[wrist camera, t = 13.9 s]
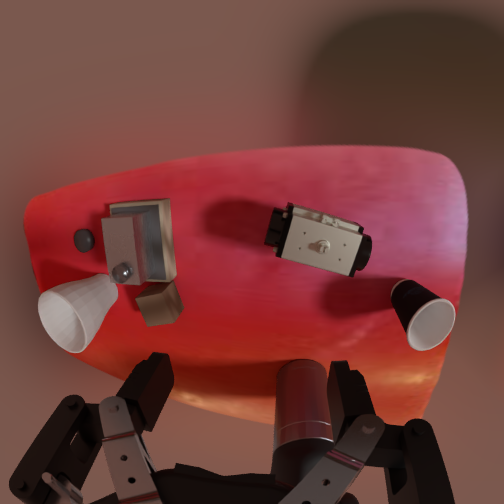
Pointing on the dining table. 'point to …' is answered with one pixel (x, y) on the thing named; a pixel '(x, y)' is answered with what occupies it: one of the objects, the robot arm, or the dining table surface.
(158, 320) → the walnut block
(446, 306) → the dixie cup
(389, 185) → the dining table surface
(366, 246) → the pneumatic valve
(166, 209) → the stand
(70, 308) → the cup
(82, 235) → the black cap
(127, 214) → the block
